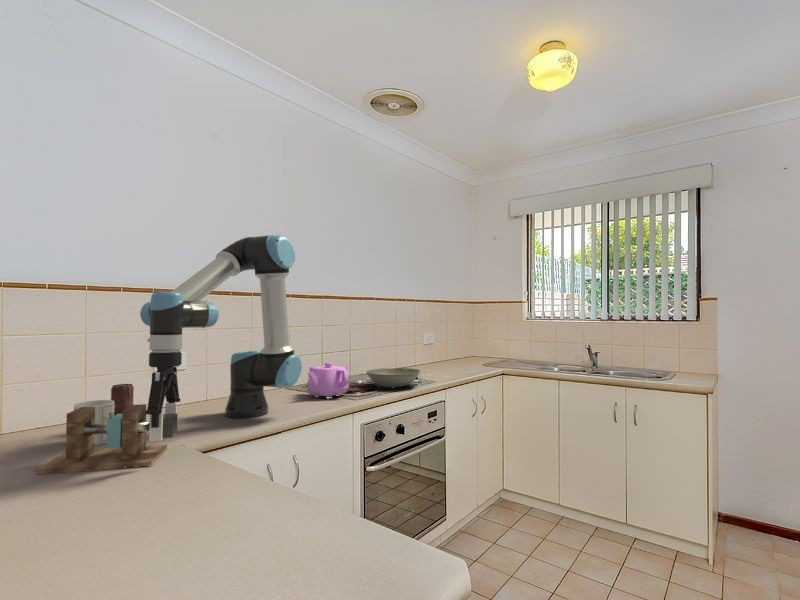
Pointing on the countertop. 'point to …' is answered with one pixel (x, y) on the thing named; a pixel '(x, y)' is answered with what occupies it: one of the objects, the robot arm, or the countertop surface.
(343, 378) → the teapot
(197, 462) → the countertop surface
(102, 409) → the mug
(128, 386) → the can
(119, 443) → the block
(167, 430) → the shaft
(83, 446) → the block
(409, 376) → the bowl
